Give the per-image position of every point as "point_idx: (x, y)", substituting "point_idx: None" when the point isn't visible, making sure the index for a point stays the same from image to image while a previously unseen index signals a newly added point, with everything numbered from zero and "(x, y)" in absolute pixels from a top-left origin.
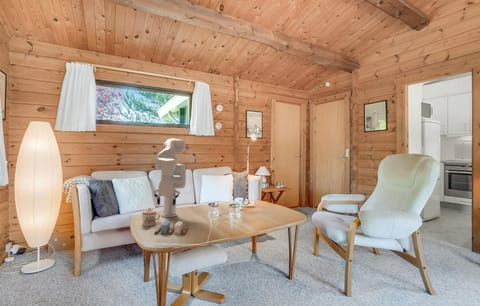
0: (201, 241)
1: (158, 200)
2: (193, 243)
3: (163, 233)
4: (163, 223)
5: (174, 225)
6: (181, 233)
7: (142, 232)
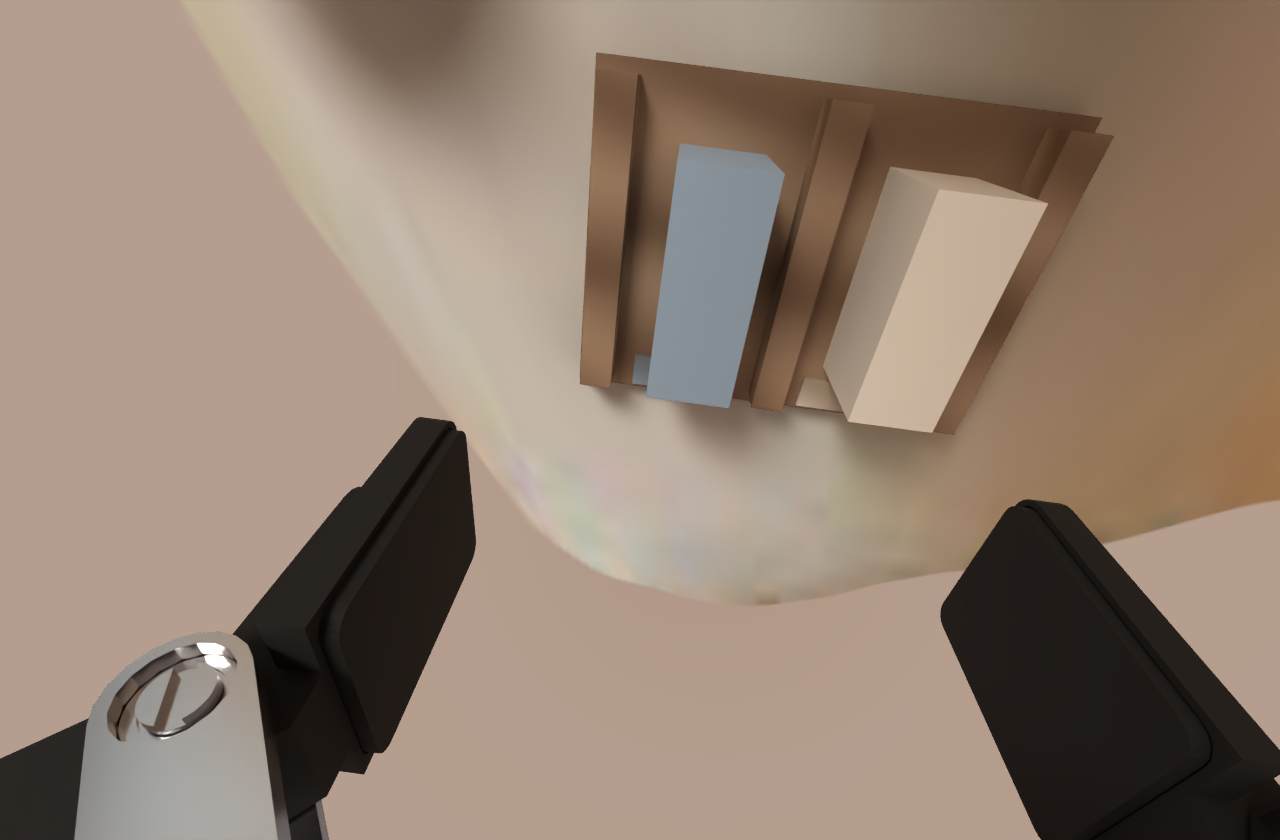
0: None
1: (399, 699)
2: None
3: None
4: (671, 313)
5: (848, 420)
6: None
7: (403, 233)
